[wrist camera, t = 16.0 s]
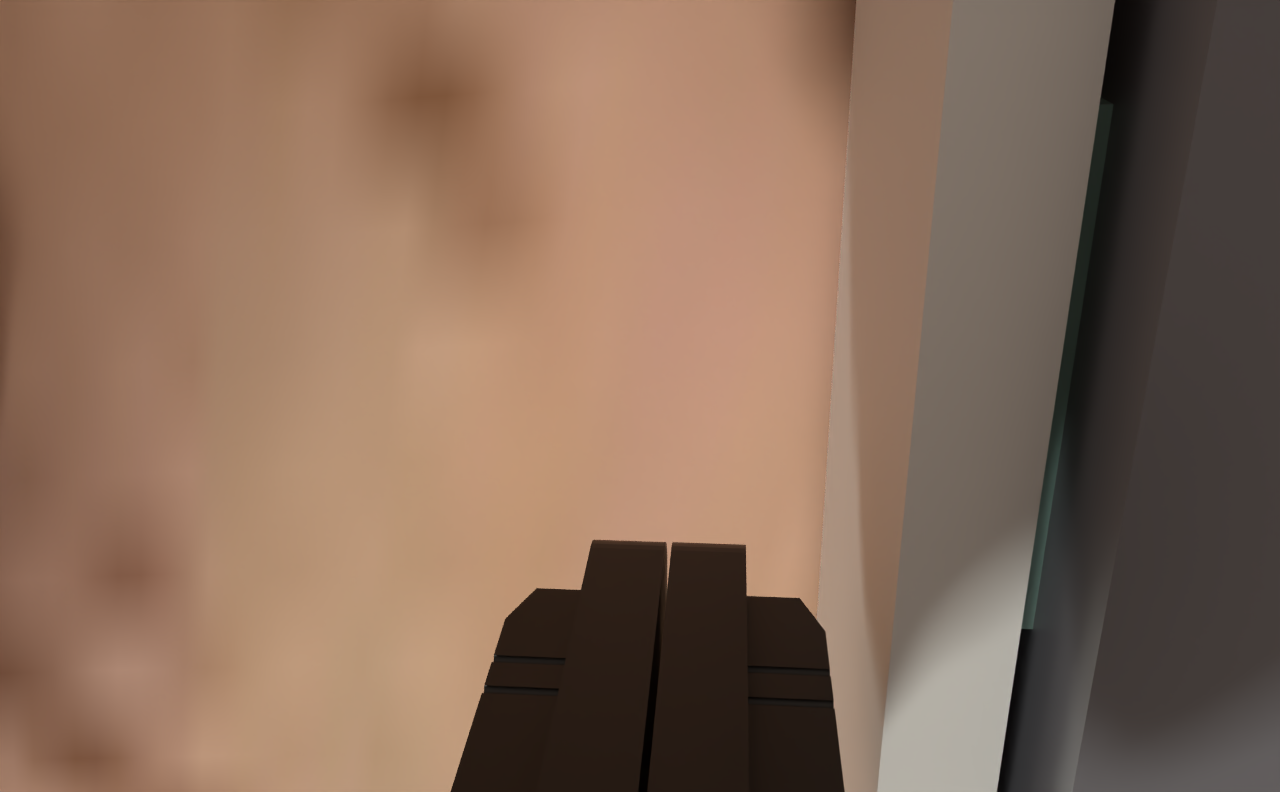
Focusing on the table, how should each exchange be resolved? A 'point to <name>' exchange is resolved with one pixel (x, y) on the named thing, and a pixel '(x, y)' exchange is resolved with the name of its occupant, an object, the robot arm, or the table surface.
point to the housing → (1165, 430)
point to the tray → (948, 368)
